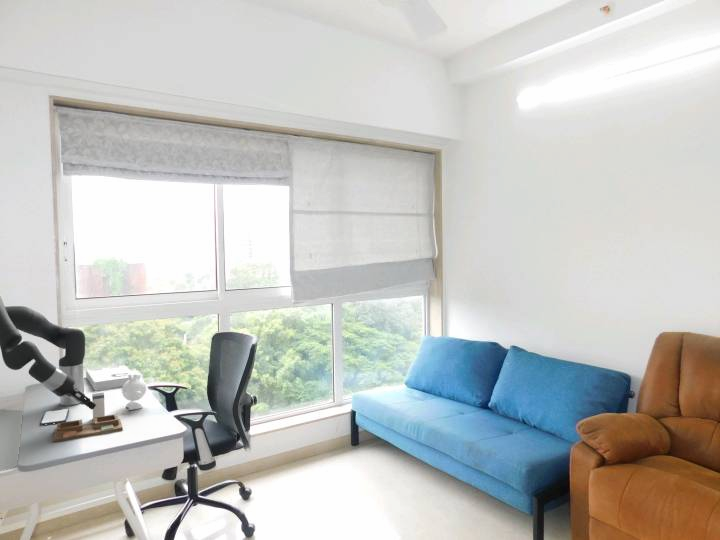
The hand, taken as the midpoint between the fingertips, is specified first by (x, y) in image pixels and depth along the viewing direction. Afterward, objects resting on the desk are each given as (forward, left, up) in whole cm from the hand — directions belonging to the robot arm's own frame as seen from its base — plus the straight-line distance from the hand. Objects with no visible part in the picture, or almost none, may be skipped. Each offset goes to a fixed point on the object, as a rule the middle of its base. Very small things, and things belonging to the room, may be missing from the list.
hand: (89, 404), depth 193 cm
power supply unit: (-65, +12, -7) cm, 67 cm away
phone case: (-12, -12, -7) cm, 18 cm away
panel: (+12, -1, -7) cm, 14 cm away
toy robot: (-10, +17, -7) cm, 21 cm away
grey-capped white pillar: (-1, +3, -7) cm, 7 cm away
